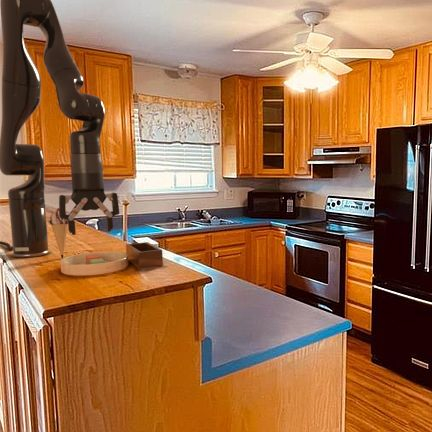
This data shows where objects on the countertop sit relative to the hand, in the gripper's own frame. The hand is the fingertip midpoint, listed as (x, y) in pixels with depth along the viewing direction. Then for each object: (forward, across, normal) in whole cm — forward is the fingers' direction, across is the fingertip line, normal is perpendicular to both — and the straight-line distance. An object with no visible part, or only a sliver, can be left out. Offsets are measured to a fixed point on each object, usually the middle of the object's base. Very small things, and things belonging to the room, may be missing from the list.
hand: (91, 232), depth 112 cm
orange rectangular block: (+9, 0, 0) cm, 9 cm away
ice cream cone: (+9, +6, -14) cm, 18 cm away
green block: (+9, 0, +6) cm, 10 cm away
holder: (+9, -12, +5) cm, 16 cm away
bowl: (+9, 0, +3) cm, 10 cm away
